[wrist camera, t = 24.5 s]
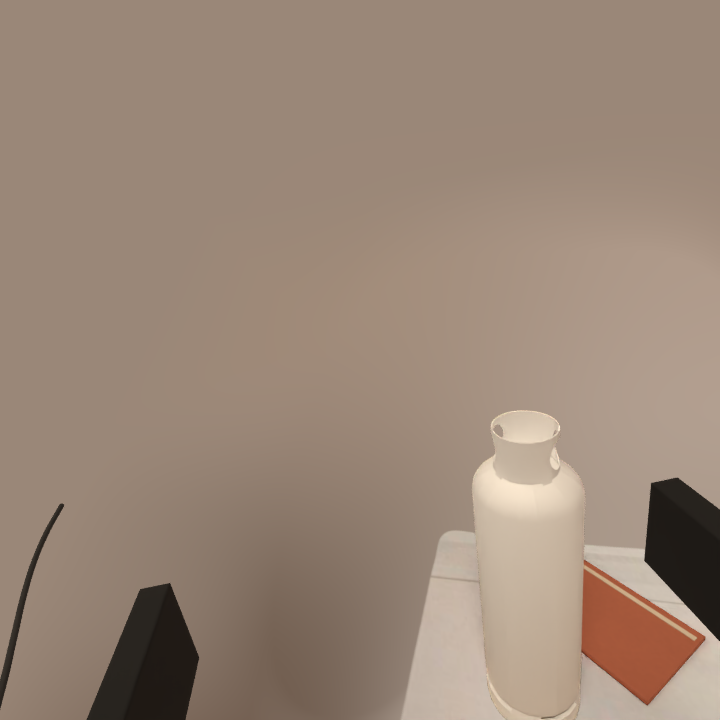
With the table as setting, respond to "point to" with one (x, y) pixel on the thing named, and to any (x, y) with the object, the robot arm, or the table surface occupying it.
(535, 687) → the bottle
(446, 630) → the table surface
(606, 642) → the notebook
